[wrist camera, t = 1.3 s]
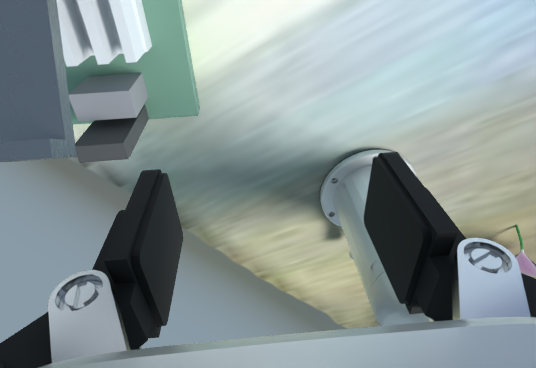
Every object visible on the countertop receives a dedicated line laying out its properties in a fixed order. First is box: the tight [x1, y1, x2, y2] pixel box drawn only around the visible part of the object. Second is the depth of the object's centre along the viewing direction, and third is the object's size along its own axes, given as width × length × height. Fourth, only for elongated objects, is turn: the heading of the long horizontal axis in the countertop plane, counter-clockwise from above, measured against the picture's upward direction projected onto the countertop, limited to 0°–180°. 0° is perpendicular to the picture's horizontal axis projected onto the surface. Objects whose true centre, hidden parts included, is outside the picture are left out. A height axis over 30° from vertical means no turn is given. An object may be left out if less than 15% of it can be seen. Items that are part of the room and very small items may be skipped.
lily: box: [515, 225, 536, 277], centre depth 50 cm, size 12×12×10 cm
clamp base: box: [56, 0, 200, 163], centre depth 26 cm, size 22×14×10 cm, turn 2°
